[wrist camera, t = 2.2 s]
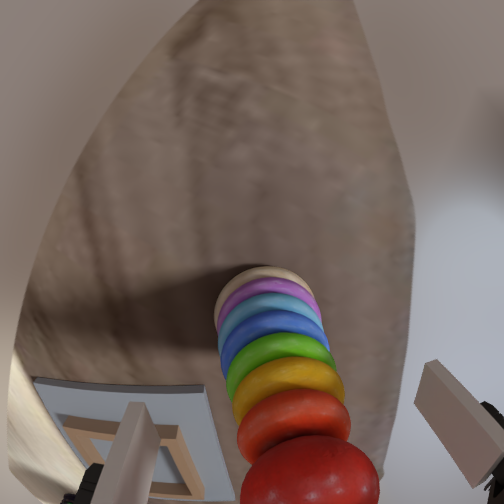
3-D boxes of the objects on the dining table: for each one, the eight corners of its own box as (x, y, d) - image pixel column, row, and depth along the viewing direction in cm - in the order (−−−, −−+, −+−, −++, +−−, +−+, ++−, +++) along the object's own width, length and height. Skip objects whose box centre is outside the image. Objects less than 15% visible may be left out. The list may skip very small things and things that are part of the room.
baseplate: (234, 494, 30) (235, 511, 27) (105, 484, 29) (101, 499, 26) (204, 384, 25) (201, 407, 21) (37, 377, 24) (24, 392, 21)
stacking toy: (194, 313, 23) (139, 545, 5) (264, 241, 22) (370, 454, 4) (264, 367, 25) (301, 572, 6) (331, 306, 24) (464, 490, 5)
